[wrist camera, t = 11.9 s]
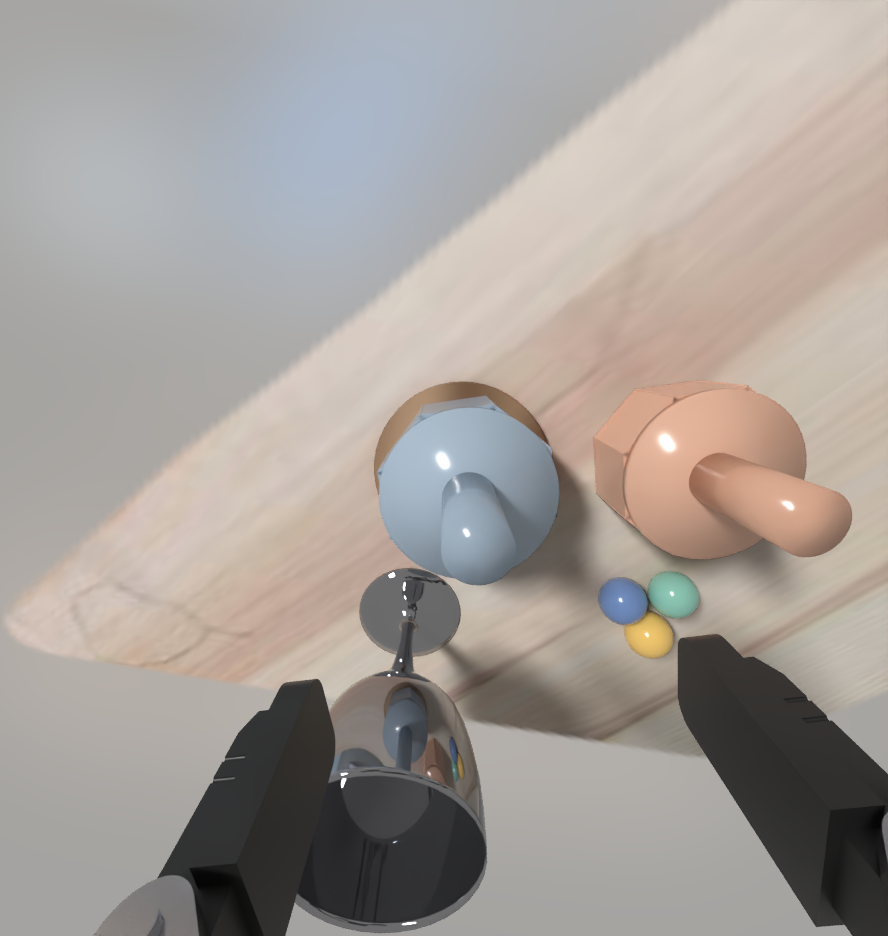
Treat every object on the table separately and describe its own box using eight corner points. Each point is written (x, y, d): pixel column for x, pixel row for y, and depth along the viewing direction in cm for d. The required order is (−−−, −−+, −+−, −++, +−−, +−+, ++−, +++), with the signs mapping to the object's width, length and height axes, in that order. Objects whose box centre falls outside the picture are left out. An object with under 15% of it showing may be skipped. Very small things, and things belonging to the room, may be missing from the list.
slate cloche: (530, 387, 25) (596, 412, 14) (543, 529, 27) (607, 641, 17) (378, 409, 25) (331, 449, 15) (403, 547, 28) (379, 669, 17)
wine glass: (440, 674, 31) (439, 953, 17) (338, 640, 30) (243, 902, 16) (483, 585, 29) (524, 814, 15) (375, 546, 28) (305, 746, 14)
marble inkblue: (634, 566, 29) (656, 590, 26) (635, 604, 30) (656, 631, 27) (590, 572, 29) (607, 596, 26) (593, 610, 30) (609, 637, 27)
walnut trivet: (539, 369, 25) (542, 369, 25) (553, 536, 28) (555, 540, 28) (360, 395, 26) (358, 396, 25) (391, 557, 29) (390, 561, 28)
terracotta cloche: (742, 372, 25) (959, 385, 15) (736, 513, 28) (919, 613, 17) (589, 394, 26) (694, 422, 15) (596, 531, 28) (691, 640, 17)
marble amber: (659, 599, 30) (683, 626, 27) (659, 636, 30) (682, 665, 27) (616, 605, 30) (635, 632, 27) (617, 641, 30) (636, 671, 28)
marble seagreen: (683, 560, 29) (710, 583, 26) (683, 598, 30) (709, 625, 27) (639, 565, 29) (661, 589, 26) (640, 604, 30) (661, 631, 27)
